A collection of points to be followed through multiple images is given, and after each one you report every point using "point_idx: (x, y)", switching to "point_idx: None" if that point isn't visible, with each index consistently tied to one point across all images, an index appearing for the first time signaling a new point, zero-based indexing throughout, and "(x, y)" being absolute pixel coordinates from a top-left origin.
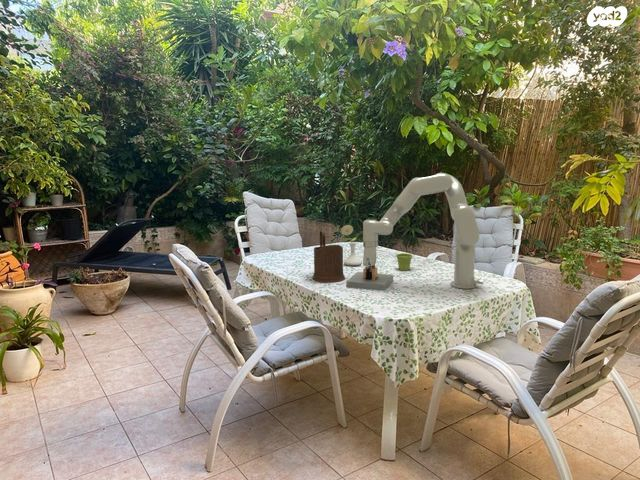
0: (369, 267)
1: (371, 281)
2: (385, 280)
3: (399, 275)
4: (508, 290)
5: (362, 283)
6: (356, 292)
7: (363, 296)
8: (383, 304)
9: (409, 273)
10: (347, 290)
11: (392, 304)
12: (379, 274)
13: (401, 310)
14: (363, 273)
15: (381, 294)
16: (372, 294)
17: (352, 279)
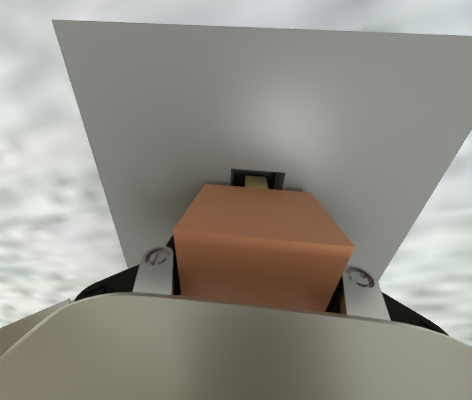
0: (299, 286)
1: (164, 242)
2: None
3: (435, 312)
4: None
5: (109, 191)
6: (45, 161)
7: (18, 209)
8: (2, 282)
9: (468, 342)
10: (37, 88)
11: (26, 302)
12: (362, 267)
13: (2, 319)
14: (192, 203)
15: (97, 269)
16: (73, 240)
17: (152, 78)
